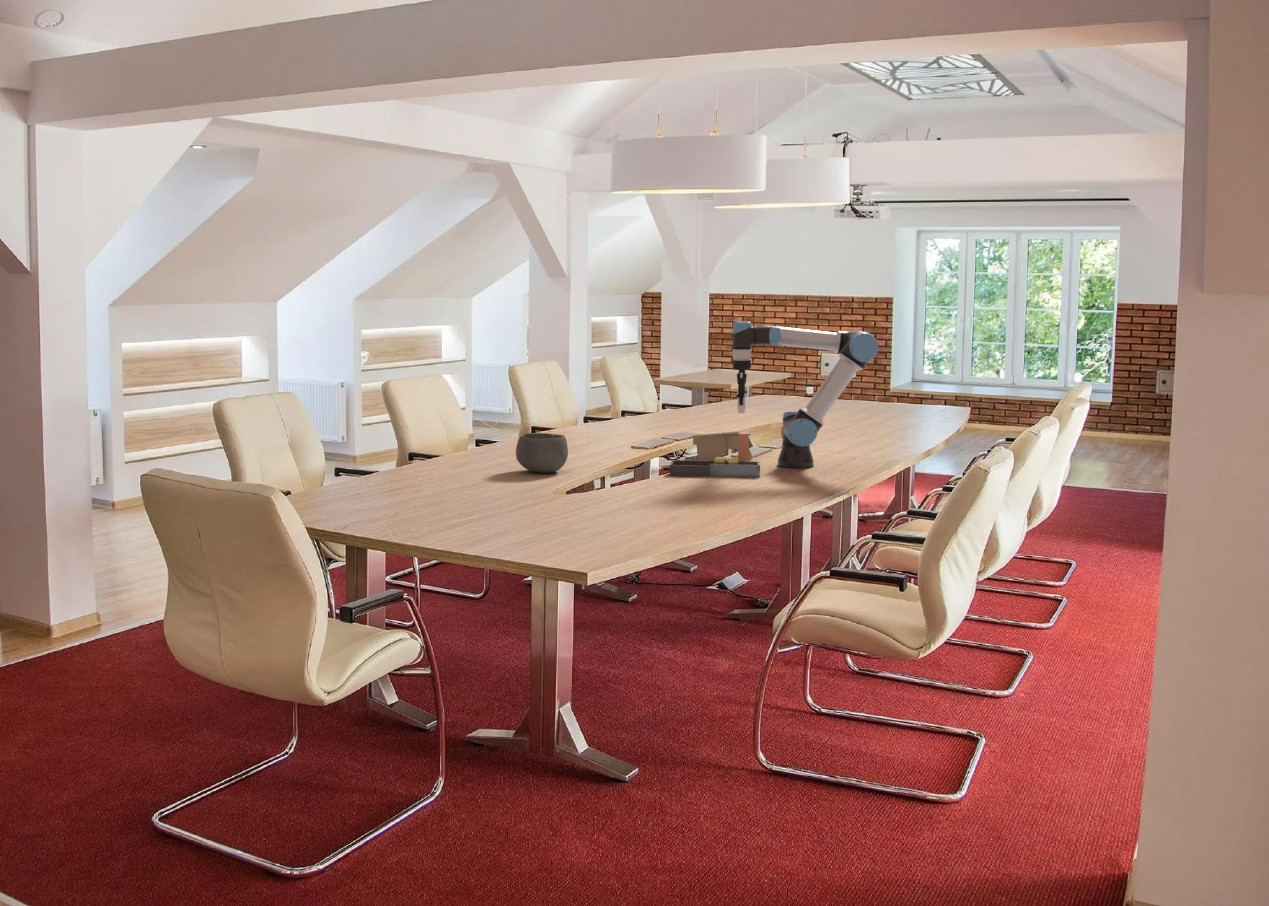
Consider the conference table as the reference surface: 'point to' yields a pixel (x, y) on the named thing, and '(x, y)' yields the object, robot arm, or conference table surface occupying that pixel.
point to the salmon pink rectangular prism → (743, 446)
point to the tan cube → (732, 461)
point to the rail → (736, 469)
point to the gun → (716, 445)
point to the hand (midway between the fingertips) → (741, 411)
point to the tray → (690, 468)
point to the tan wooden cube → (720, 460)
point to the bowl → (542, 452)
